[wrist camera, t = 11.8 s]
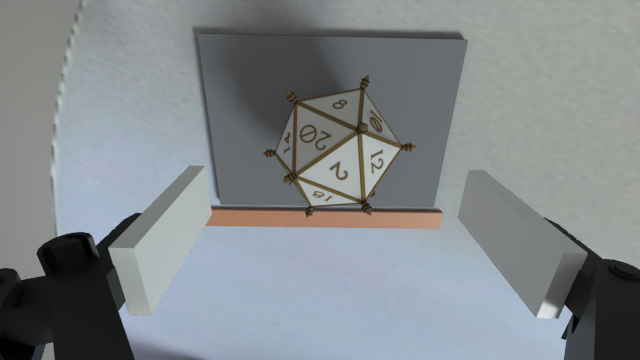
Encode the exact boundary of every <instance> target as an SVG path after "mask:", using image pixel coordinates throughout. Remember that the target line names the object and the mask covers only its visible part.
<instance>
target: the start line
mask: <svg viewBox="0 0 640 360" xmlns="http://www.w3.org/2000/svg"><path fill="white" fill-rule="evenodd" d="M211 210H212V215H211V217H210V218H209V220H208V222H207V224H206V225H205V226H264V227H345V228H427V229H439V228H440V223H441V219H442V214H443V213H442V211H371V216H370V215H368V214H367V213H363V210H313V211H314V212H313V213H312V214H313V215H311V216H309V217H307V218H306V214H305V211H306V210H295V209H219V208H211Z"/></svg>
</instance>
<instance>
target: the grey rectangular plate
mask: <svg viewBox="0 0 640 360" xmlns="http://www.w3.org/2000/svg"><path fill="white" fill-rule="evenodd" d="M197 35H198V43H199V50H200V57H201V65H202V72H203V79H204V87H205V94H206V101H207V109H208V116H209V123H210V131H211V138H212V145H213V153H214V160H215V168H216V175H217V182H218V190H219V197H220V204H223V205H298V206H309V205H308V203H307V202H306V200H305V199H304V197H303V196H302V194H301V193H300V191H299V190H298V188H297V187H296V185H295V184H294V182H293V183H291V184H290V185H289V184H285V183H283V181H284V176H287V175H288V174H287V172H286V171H285V169H284V168H283V166H282V165H281V163H280V162H279V160H278V159H277V157H276V156H275V155H274V156H273V157H267V156H265V155H264V154H263V153H264V152H265V151H267V149H268V150H270V149H272V150H276V147H277V145H278V142H279V140H280V137H281V135H282V132H283V130H284V127H285V125H286V122H287V120H288V117H289V115H290V112H291V110H292V107H293V103H291V102H289V100H288V99H286V90H287V91H290V92H294V95H296V96H297V97H296V98H297V100H302V99H307V98H312V97H317V96H322V95H327V94H332V93H337V92H342V91H347V90H352V89H357V88H360V83H361V81H362V80H361V79H363V78H364V77H366V76H367V75H369V82H370V83H369V84H368V87H366V88H365V92H366V93H367V95H368V96H369V98H370V99H371V100H372V102H373V103H374V105H375V106H376V108H377V109H378V111H379V112H380V114H381V115H382V117H383V118H384V120H385V121H386V123H387V124H388V126H389V127H390V129H391V130H392V132H393V133H394V135H395V136H396V138H397V139H398V140H399V142H400V143H401V145H404V144H406V143H407V144H409V143H411V144H413V145H415V146H417V147H416V148H414V149H413V150H411V152H410V151H407V152H406V151H405V150H401V152H400V153H399V155H398V156H397V158H396V159H395V160H394V162H393V163H392V165H391V166H390V168H389V169H388V171H387V172H386V174H385V175H384V177H383V178H382V180H381V181H380V183H379V184H378V186H377V187H376V188H375V195H374V196H375V197H369V199H368V200H367V203H369V204H370V206H373V207H434V202H435V198H436V193H437V188H438V183H439V178H440V173H441V169H442V164H443V159H444V154H445V149H446V144H447V139H448V135H449V130H450V125H451V120H452V115H453V110H454V105H455V101H456V96H457V91H458V86H459V81H460V76H461V71H462V67H463V62H464V57H465V52H466V47H467V42H468V40H465V39H421V38H376V37H330V36H285V35H239V34H197ZM340 206H362V205H361V204H354V205H340Z"/></svg>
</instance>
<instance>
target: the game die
mask: <svg viewBox="0 0 640 360" xmlns="http://www.w3.org/2000/svg"><path fill="white" fill-rule="evenodd" d="M361 80H362V81H361V83H360V88H357V89H352V90H347V91H342V92H337V93H332V94H327V95H322V96H317V97H312V98H307V99H302V100H297V98H296V97H297V96H296V95H294V92H290V91H287V90H286V99H288V100H289V102H291V103H293V107H292V110H291V112H290V115H289V117H288V120H287V122H286V125H285V127H284V130H283V132H282V135H281V137H280V140H279V142H278V145H277V147H276V150H272V149H270V150H268V149H267V151H265V152H264V153H263V154H264V155H265V156H267V157H273V156H274V155H275V156H276V157H277V159H278V160H279V162H280V163H281V165H282V166H283V168H284V169H285V171H286V172H287V174H288V175H287V176H284V181H283V183H285V184H289V185H290V184H291V183H293V182H294V184H295V185H296V187H297V188H298V190H299V191H300V193H301V194H302V196H303V197H304V199H305V200H306V202H307V203H308V205H309V207H308V208H307V209H306V211H305V214H306V218H307V217H309V216H311V215H313V214H312V213H313V212H314V211H313V208H314V207H326V206H340V205H354V204H361V205H362V208H361V209H363V213H367V214H368V215H370V216H371V210H372V207H370V204H369V203H367V200H368V199H369V197H375V196H374V195H375V188H376V187H377V186H378V184H379V183H380V181H381V180H382V178H383V177H384V175H385V174H386V172H387V171H388V169H389V168H390V166H391V165H392V163H393V162H394V160H395V159H396V158H397V156H398V155H399V153H400V152H401V150H405V151H406V152H407V151H410V152H411V150H413V149H414V148H416V147H417V146H415V145H413V144H411V143H409V144H407V143H406V144H404V145H401V143H400V142H399V140H398V139H397V138H396V136H395V135H394V133H393V132H392V130H391V129H390V127H389V126H388V124H387V123H386V121H385V120H384V118H383V117H382V115H381V114H380V112H379V111H378V109H377V108H376V106H375V105H374V103H373V102H372V100H371V99H370V98H369V96H368V95H367V93H366V92H365V88H366V87H368V84H369V83H370V82H369V75H367V76H366V77H364V78H363V79H361Z"/></svg>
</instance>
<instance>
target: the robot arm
mask: <svg viewBox="0 0 640 360" xmlns="http://www.w3.org/2000/svg"><path fill="white" fill-rule="evenodd" d="M211 215H212V210H211V203H210V196H209V189H208V182H207V175H206V168H205V166H189V167H188V168H187V169H186V170H185V171H184V172H183V173H182V174H181V175H180V176H179V177H178V178H177V179H176V180H175V181H174V182H173V183H172V184H171V185H170V186H169V187H168V188H167V189H166V190H165V191H164V192H163V193H162V194H161V195H160V196H159V197H158V198H157V199H156V200H155V201H154V202H153V203H152V204H151V205H150V206H149V207H148V208H147V209H146V210H145V211H144V212H143V213H135V214H133V215H132V216H130V217H128V218H126V219H124V220H123V221H122V222H121V223H120V224H119V225H118V226H117V227H116V229H113V230H112V231H111V232H110V233H109V235H107V236H106V237H105V238H104V239H103V240H102V241H101V242H100V243H99V244H97V245H96V246H95V243H94V240H93V237H92V236H91V235H90V234H89V233H84V232H76V233H70V234H65V235H62V236H59V237H56V238H53V239H52V240H50V241H48V242H46V243H44V244H43V245H42V246H41V247H40V248H39V249H38V251H37V256H38V258H39V261H40V263H41V265H42V267H43V270H44V272H45V274H46V276H41V277H36V278H30V279H25V280H21V279H20V277H19V275H18V273H17V272H16V271H15V270H14V269H9V268H3V269H0V360H41V358H42V355H43V352H44V348H45V345H46V344H47V343H51V342H53V345H54V355H55V360H135V359H134V356H133V353H132V350H131V347H130V344H129V342H128V339H127V336H126V333H125V330H124V327H123V324H122V321H121V318H120V315H119V313H118V311H119V310H120V308H121V307H122V305H123V304H124V303H126V306H127V310H128V313H129V315H152V314H153V313H154V311H155V309H156V308H157V306H158V304H159V303H160V301H161V299H162V298H163V296H164V294H165V292H166V291H167V289H168V287H169V286H170V284H171V282H172V281H173V279H174V277H175V276H176V274H177V272H178V271H179V269H180V267H181V266H182V264H183V262H184V261H185V259H186V257H187V255H188V254H189V252H190V250H191V249H192V247H193V245H194V244H195V242H196V240H197V239H198V237H199V235H200V234H201V232H202V230H203V229H204V227H205V225H206V224H207V222H208V220H209V218H210V217H211ZM458 219H459V220H460V221H461V222H462V224H463V225H464V226H465V228H466V229H467V230H468V231H469V233H470V234H471V235H472V236H473V238H474V239H475V240H476V242H477V243H478V244H479V245H480V247H481V248H482V249H483V251H484V252H485V253H486V254H487V256H488V257H489V258H490V260H491V261H492V262H493V263H494V265H495V266H496V267H497V269H498V270H499V271H500V272H501V274H502V275H503V276H504V278H505V279H506V280H507V281H508V283H509V284H510V285H511V286H512V288H513V289H514V290H515V292H516V293H517V294H518V295H519V297H520V298H521V299H522V301H523V302H524V303H525V304H526V306H527V307H528V308H529V310H530V311H531V312H532V313H533V315H534V316H535V317H536V318H559V315H560V313H561V311H562V309H563V307H564V305H566V307H567V308H568V309H569V310H570V311H571V312H572V313H573V315H572V317H571V319H570V321H569V323H568V325H567V327H566V329H565V331H564V333H563V335H562V337H561V338H562V339H564V340H565V339H566V338H567V341H566V348H565V356H564V360H640V270H639V269H638V268H636V267H634V266H632V265H629V264H627V263H624V262H621V261H617V260H611V259H602V258H601V257H600V256H598V255H597V254H596V253H594V252H593V251H592V250H591V249H589V248H588V247H587V246H585V245H584V244H583V243H582V242H580V241H579V240H576V238H575V237H574V236H572V235H571V234H568V232H567V231H566V230H565V229H563V228H562V227H561V226H560V225H558V224H556V223H554V222H552V221H550V220H548V219H546V218H543V217H542V216H541V215H539V214H538V213H537V212H536V211H534V210H533V209H532V208H531V207H529V206H528V205H527V204H526V203H524V202H523V201H522V200H521V199H519V198H518V197H517V196H516V195H514V194H513V193H512V192H511V191H509V190H508V189H507V188H506V187H504V186H503V185H502V184H501V183H499V182H498V181H497V180H495V179H494V178H493V177H492V176H490V175H489V174H488V173H487V172H485V171H484V170H469V171H468V175H467V179H466V184H465V188H464V192H463V197H462V201H461V205H460V209H459V214H458Z"/></svg>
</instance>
